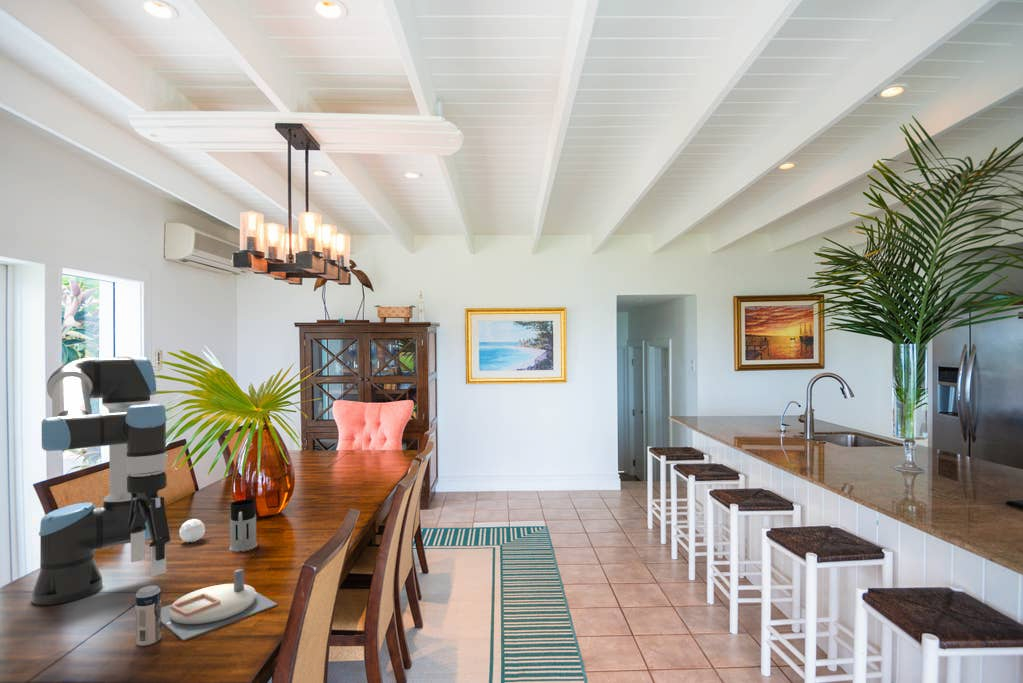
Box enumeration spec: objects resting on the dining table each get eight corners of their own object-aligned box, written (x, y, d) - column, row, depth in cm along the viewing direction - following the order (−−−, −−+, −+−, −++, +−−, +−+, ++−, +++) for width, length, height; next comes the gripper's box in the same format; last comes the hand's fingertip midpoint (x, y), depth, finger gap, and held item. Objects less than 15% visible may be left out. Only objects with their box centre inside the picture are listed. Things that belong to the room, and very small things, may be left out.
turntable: (194, 631, 127) (193, 603, 127) (156, 611, 138) (155, 584, 138) (270, 600, 143) (270, 574, 143) (230, 583, 154) (230, 560, 154)
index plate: (183, 641, 125) (183, 637, 125) (149, 613, 139) (149, 609, 139) (277, 605, 142) (277, 602, 142) (239, 583, 156) (239, 580, 156)
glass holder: (258, 541, 191) (258, 497, 192) (255, 555, 178) (254, 508, 178) (230, 544, 188) (230, 500, 189) (224, 559, 175) (224, 511, 175)
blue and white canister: (164, 641, 125) (163, 587, 125) (139, 650, 122) (139, 595, 122) (157, 634, 128) (156, 582, 129) (133, 642, 125) (132, 589, 125)
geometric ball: (191, 551, 191) (181, 537, 186) (181, 539, 195) (171, 525, 190) (212, 535, 195) (203, 521, 190) (202, 524, 200) (192, 510, 195)
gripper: (186, 476, 120) (187, 574, 120) (147, 464, 136) (148, 550, 136) (146, 483, 115) (147, 586, 114) (110, 469, 131) (111, 559, 130)
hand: (148, 567), depth 125 cm, fingers open, 13 cm apart
